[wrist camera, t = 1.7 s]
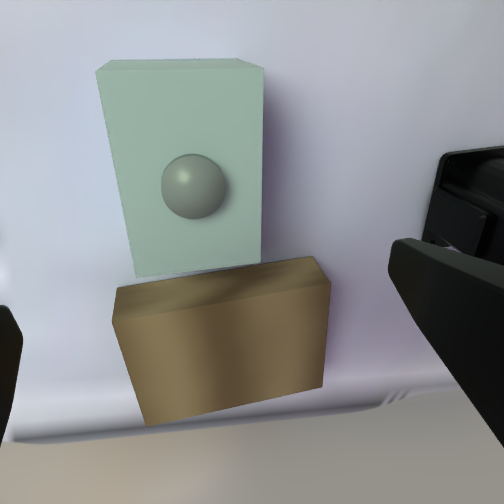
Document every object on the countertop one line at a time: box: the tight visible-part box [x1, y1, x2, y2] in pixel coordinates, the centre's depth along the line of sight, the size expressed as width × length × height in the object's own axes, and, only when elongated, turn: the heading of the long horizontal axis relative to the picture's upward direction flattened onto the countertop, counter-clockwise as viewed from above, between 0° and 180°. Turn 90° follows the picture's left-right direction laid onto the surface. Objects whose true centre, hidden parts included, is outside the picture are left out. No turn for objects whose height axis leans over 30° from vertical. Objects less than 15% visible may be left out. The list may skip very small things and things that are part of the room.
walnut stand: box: [112, 256, 331, 427], centre depth 23 cm, size 12×9×3 cm
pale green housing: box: [95, 59, 264, 278], centre depth 16 cm, size 6×8×6 cm
